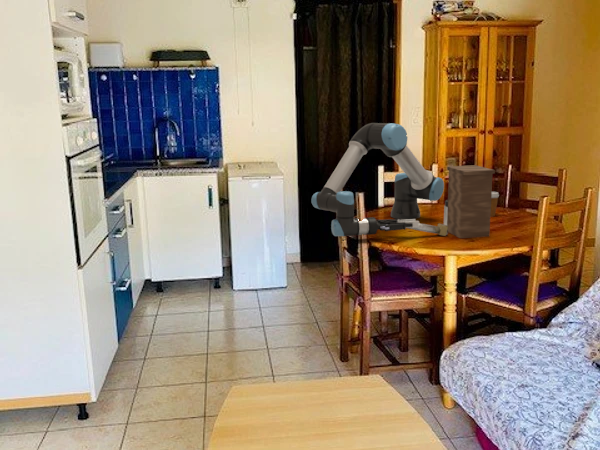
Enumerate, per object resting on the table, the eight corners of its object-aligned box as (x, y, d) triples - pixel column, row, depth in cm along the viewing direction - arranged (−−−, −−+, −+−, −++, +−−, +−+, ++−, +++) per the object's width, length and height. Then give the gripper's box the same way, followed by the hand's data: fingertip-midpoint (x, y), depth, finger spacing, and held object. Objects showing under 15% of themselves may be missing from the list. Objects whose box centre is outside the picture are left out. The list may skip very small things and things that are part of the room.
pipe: (395, 225, 268) (397, 215, 267) (443, 234, 273) (446, 224, 272) (398, 227, 263) (400, 217, 262) (447, 236, 269) (450, 227, 268)
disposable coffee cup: (502, 216, 307) (503, 193, 305) (487, 218, 304) (488, 194, 301) (489, 212, 316) (491, 190, 313) (475, 214, 313) (476, 192, 310)
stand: (445, 230, 280) (447, 166, 273) (472, 228, 282) (475, 165, 276) (462, 239, 263) (464, 171, 256) (491, 237, 265) (495, 170, 258)
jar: (452, 227, 284) (453, 203, 282) (440, 224, 291) (441, 200, 288) (465, 225, 289) (466, 200, 286) (453, 222, 296) (453, 198, 293)
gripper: (361, 230, 272) (410, 227, 276) (372, 238, 256) (423, 235, 260) (361, 214, 270) (410, 211, 274) (372, 221, 254) (424, 218, 258)
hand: (416, 223), depth 267 cm, fingers open, 3 cm apart
